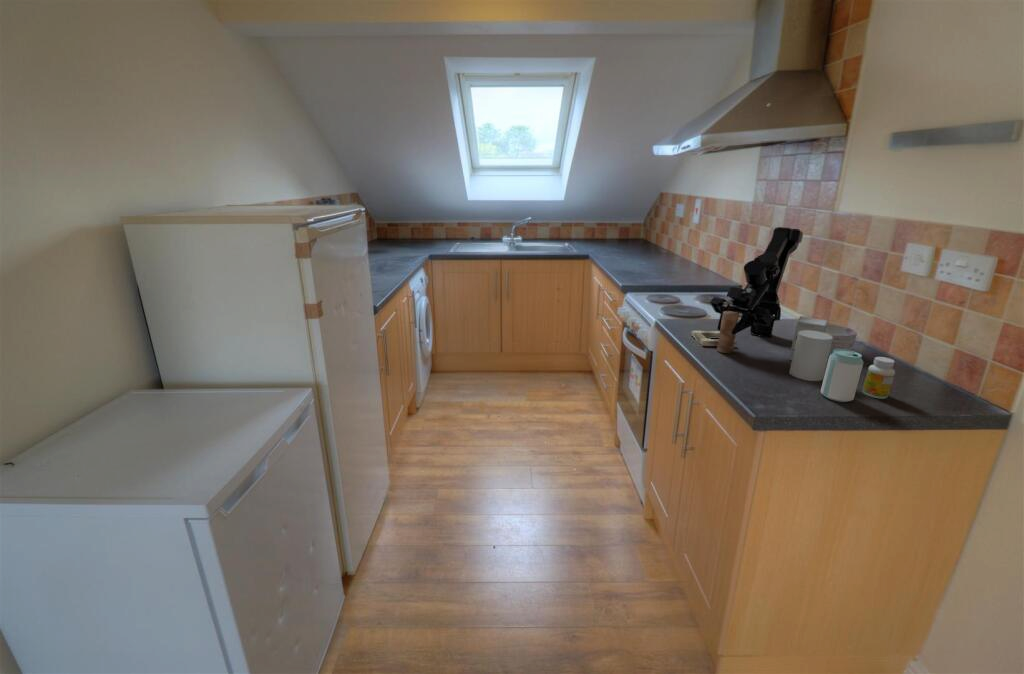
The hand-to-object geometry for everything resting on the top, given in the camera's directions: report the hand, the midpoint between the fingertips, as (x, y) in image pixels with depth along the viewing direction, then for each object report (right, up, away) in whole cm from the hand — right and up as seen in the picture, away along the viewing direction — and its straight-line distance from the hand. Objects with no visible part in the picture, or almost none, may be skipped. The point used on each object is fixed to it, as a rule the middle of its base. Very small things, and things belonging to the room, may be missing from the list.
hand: (725, 331), depth 147 cm
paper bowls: (+34, -7, +5) cm, 35 cm away
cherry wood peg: (+1, -6, +3) cm, 7 cm away
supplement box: (+23, -9, -2) cm, 25 cm away
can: (+16, -17, -28) cm, 36 cm away
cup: (+16, -13, -14) cm, 25 cm away
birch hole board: (+1, -3, +12) cm, 13 cm away
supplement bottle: (+27, -17, -26) cm, 41 cm away
